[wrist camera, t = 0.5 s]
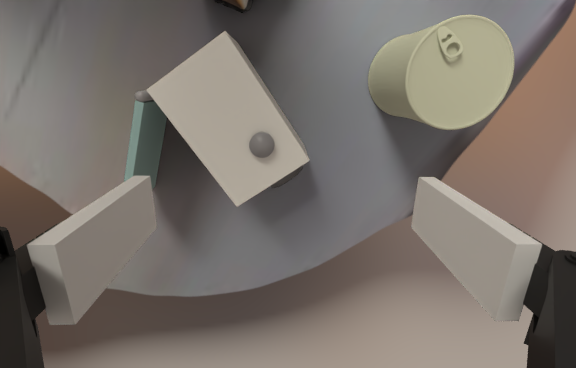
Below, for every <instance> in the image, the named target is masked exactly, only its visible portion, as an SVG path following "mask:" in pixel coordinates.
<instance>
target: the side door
mask: <svg viewBox="0 0 576 368" xmlns="http://www.w3.org/2000/svg"><path fill="white" fill-rule="evenodd" d="M135 98H136V100H135V106H134V113H133V120H132V127H131V134H130V142H129V149H128V156H127V163H126V170H125V177H124V182H125V181H126V180H128V179H130V178H131V177H133V176H150V178H151V185H152V189H153V188H154V187H155V184H156V178H157V173H158V167H159V161H160V155H161V150H162V144H163V138H164V133H165V127H166V121H167V116H166V115H165V114H164V112H163V111H162V110H161V109H160V107H159V106H158V105H157V103H156V102H155V101H154V100H153V98H152V97H151V96H150V94H149V93H148V92H147V91H137V92H136V93H135Z"/></svg>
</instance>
